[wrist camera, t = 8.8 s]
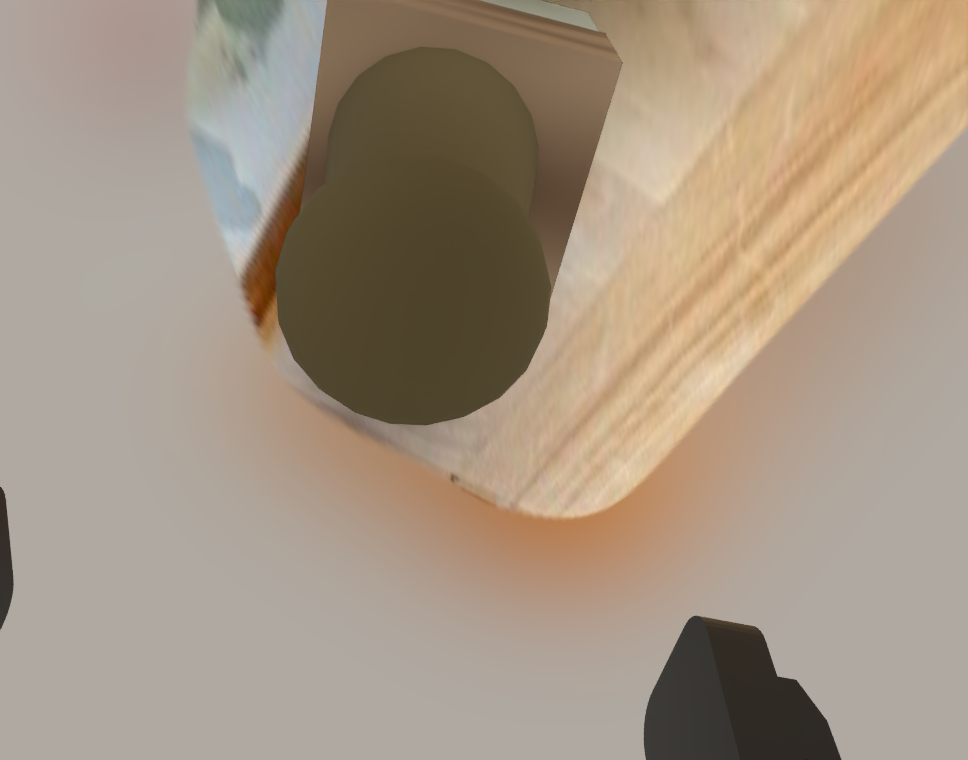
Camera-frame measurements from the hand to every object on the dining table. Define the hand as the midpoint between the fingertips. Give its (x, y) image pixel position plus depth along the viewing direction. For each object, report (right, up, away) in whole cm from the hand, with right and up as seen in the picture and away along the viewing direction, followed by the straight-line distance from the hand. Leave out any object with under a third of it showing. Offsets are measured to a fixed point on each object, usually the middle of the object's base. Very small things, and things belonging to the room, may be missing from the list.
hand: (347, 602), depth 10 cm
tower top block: (+1, +11, +19) cm, 22 cm away
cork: (0, +9, +14) cm, 17 cm away
